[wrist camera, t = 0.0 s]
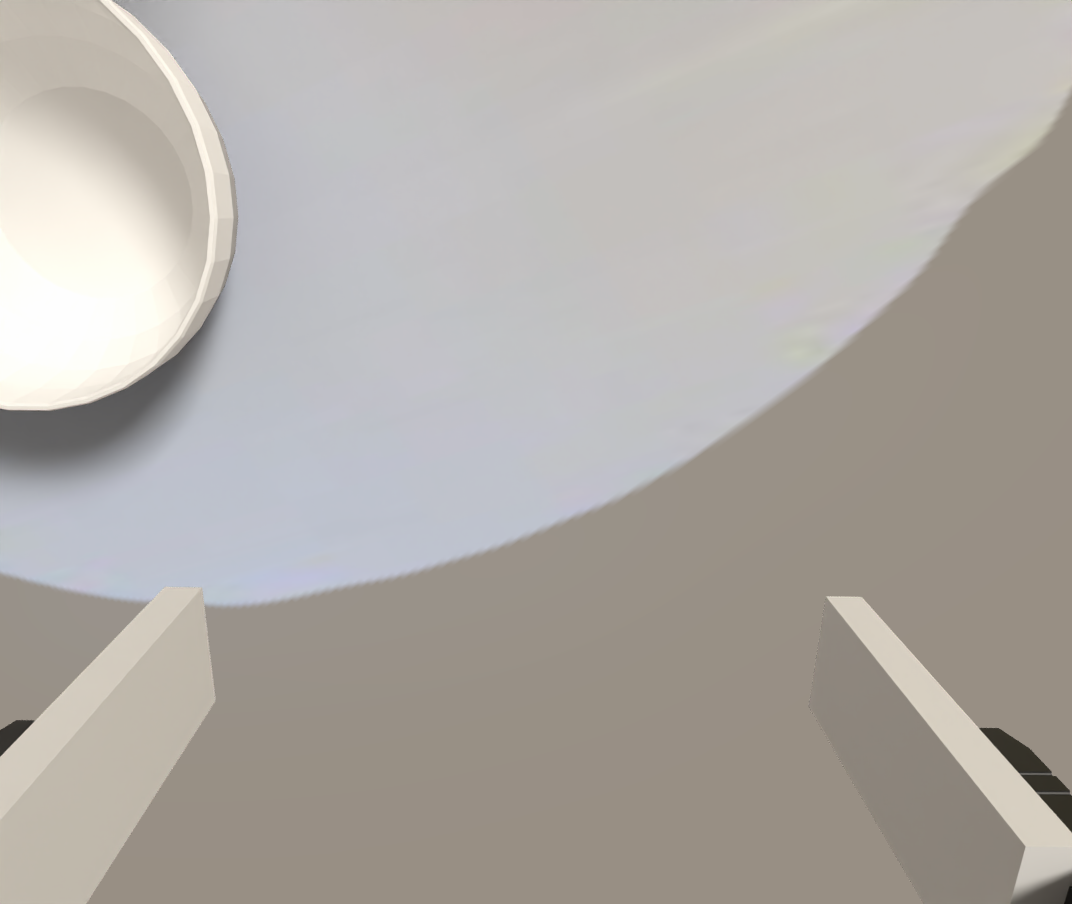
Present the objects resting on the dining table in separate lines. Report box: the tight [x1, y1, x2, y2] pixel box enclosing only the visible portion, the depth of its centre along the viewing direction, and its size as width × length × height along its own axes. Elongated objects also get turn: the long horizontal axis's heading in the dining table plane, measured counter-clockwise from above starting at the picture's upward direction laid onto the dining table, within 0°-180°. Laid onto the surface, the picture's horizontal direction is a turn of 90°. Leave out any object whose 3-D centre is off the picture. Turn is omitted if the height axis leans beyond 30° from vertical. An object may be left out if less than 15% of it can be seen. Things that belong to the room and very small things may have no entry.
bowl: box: [0, 0, 238, 411], centre depth 35 cm, size 19×19×9 cm
